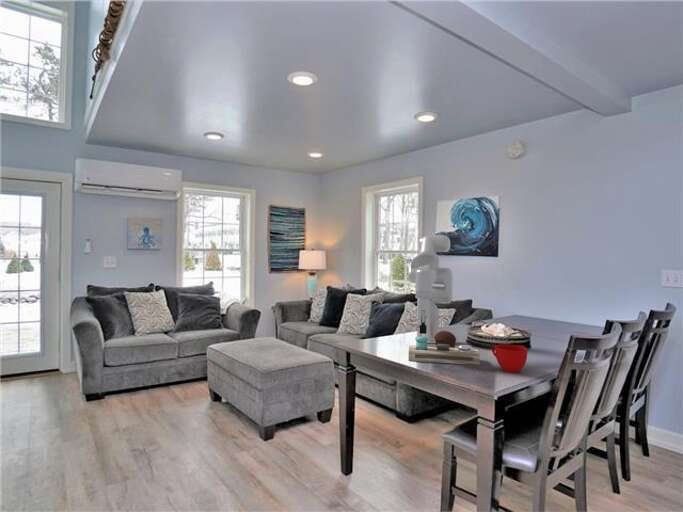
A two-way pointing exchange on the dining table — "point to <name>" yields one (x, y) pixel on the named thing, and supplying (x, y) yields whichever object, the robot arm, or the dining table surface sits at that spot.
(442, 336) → the muffin
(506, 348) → the ceramic cup
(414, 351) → the box
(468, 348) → the steel knob
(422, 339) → the teal knob
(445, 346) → the dark gray knob
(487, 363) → the dining table surface
